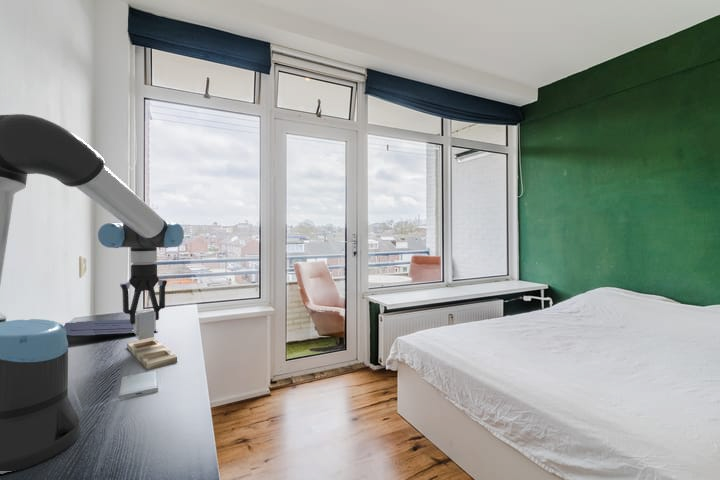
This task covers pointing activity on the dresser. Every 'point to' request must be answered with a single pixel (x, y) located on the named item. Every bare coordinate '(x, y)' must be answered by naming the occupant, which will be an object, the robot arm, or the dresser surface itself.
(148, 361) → the rail
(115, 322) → the dark grey flat slab
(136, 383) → the hard drive
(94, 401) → the dresser surface
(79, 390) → the dresser surface
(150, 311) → the post
